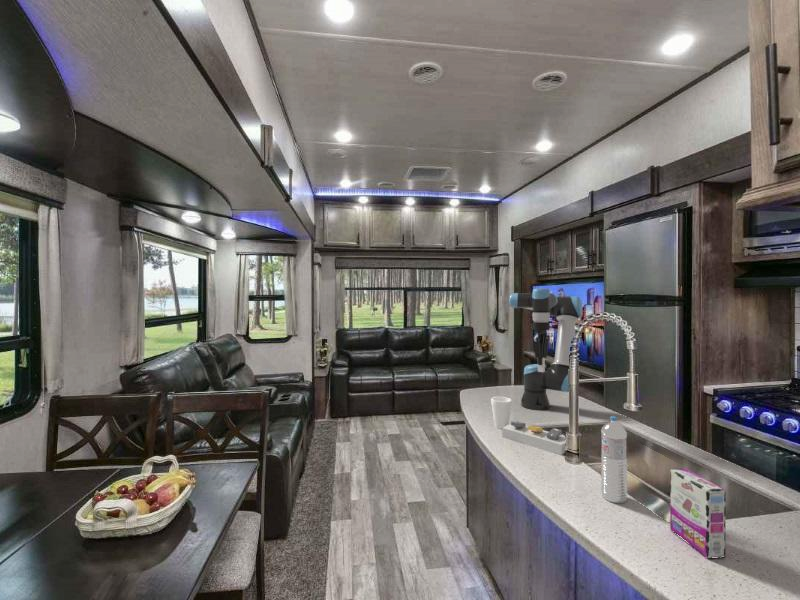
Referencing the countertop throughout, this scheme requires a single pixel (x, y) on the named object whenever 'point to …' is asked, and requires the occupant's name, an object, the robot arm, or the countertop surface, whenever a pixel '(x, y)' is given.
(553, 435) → the rocker
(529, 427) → the yellow sponge
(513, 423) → the rocker
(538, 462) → the countertop surface
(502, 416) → the foam cup
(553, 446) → the grey tray
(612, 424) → the water bottle
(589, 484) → the countertop surface
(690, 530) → the candy bar box
